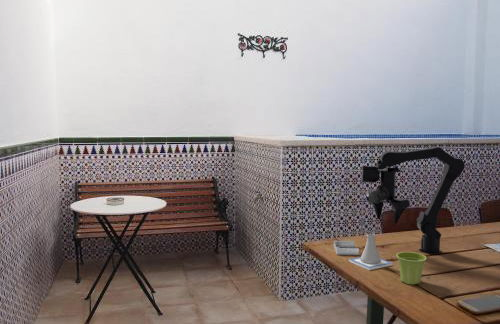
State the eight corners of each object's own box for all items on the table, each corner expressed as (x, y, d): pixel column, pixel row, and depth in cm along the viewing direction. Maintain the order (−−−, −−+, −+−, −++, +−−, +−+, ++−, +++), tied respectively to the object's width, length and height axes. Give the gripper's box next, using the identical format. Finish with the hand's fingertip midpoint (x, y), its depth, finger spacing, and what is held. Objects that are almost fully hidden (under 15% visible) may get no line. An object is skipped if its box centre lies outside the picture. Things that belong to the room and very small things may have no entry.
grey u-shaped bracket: (354, 246, 195) (354, 240, 194) (358, 255, 184) (358, 247, 183) (333, 246, 195) (333, 239, 195) (336, 254, 184) (337, 247, 184)
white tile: (392, 265, 171) (392, 262, 171) (368, 270, 166) (369, 267, 166) (371, 257, 181) (371, 254, 181) (348, 261, 176) (348, 259, 176)
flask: (384, 262, 172) (385, 235, 171) (370, 265, 169) (370, 238, 168) (370, 257, 178) (371, 231, 177) (356, 260, 175) (356, 234, 174)
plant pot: (425, 278, 158) (426, 253, 157) (425, 288, 149) (426, 261, 148) (396, 275, 161) (397, 250, 160) (395, 284, 152) (395, 259, 151)
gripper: (356, 181, 191) (355, 218, 193) (389, 187, 175) (388, 228, 176) (377, 179, 196) (376, 215, 198) (411, 185, 180) (410, 225, 182)
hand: (386, 221), depth 188 cm, fingers open, 9 cm apart
